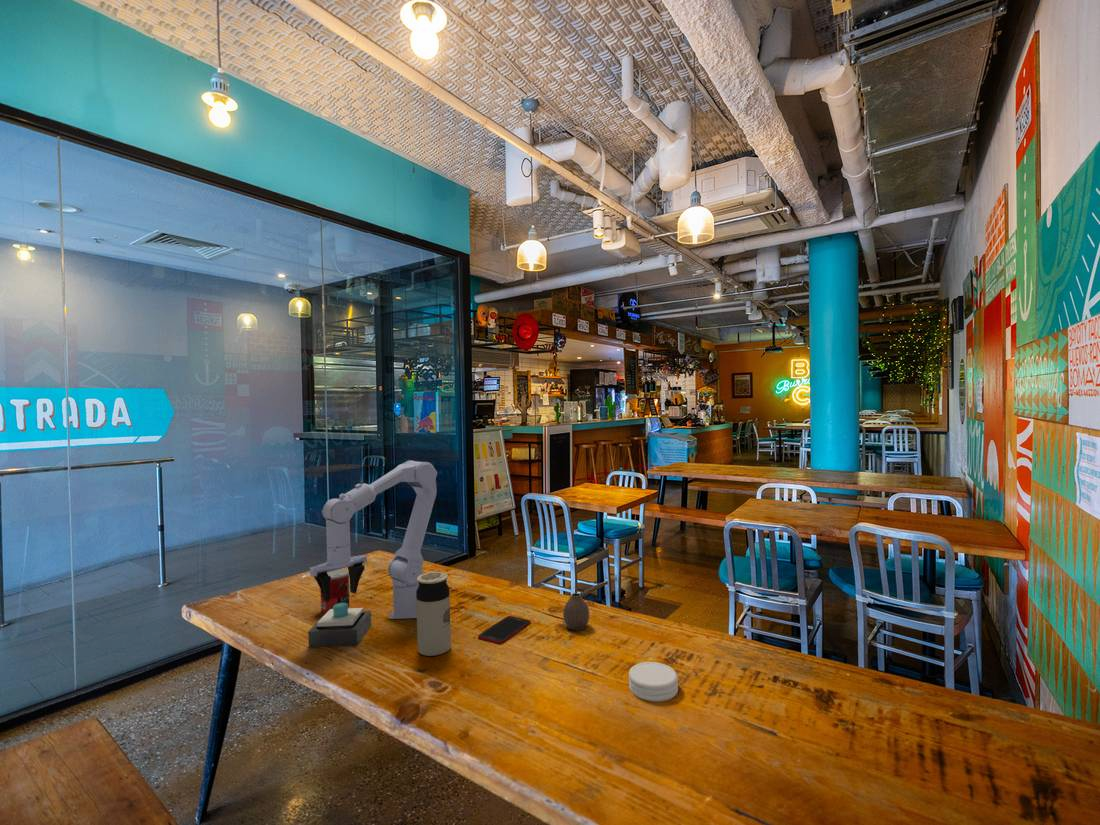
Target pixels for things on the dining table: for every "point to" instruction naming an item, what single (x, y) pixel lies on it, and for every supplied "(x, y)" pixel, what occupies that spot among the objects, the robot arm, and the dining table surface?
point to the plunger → (340, 616)
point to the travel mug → (433, 614)
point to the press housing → (340, 633)
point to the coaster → (653, 681)
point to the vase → (576, 612)
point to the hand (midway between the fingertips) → (340, 596)
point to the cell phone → (504, 630)
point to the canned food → (337, 590)
